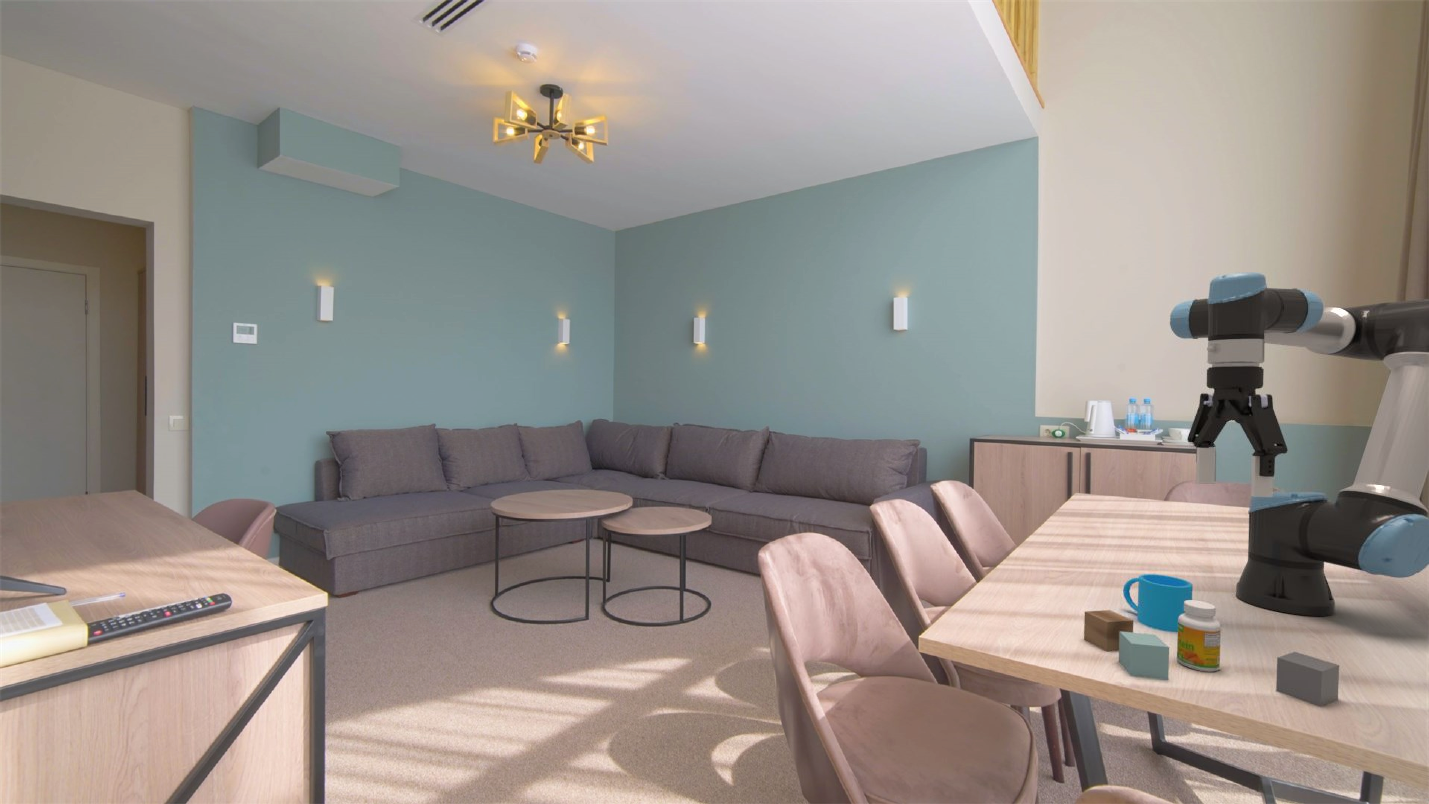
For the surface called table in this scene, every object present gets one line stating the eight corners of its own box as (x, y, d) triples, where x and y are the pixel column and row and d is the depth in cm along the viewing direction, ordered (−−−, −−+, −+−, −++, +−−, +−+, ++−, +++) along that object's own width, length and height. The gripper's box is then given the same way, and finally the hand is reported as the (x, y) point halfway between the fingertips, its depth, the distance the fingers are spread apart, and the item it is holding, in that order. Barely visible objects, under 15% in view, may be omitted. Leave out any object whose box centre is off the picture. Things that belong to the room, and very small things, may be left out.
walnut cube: (1108, 638, 112) (1109, 610, 111) (1132, 649, 107) (1133, 620, 107) (1083, 640, 111) (1084, 611, 111) (1106, 651, 106) (1107, 621, 106)
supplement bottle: (1168, 658, 103) (1170, 598, 103) (1199, 657, 104) (1201, 598, 104) (1196, 672, 98) (1198, 610, 98) (1228, 672, 98) (1230, 609, 98)
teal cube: (1154, 666, 100) (1155, 634, 100) (1168, 680, 96) (1169, 647, 96) (1118, 662, 102) (1119, 631, 102) (1130, 676, 97) (1131, 643, 97)
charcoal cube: (1293, 685, 95) (1294, 651, 94) (1337, 700, 90) (1339, 665, 90) (1276, 691, 92) (1277, 657, 92) (1320, 707, 88) (1321, 671, 88)
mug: (1201, 629, 116) (1203, 584, 116) (1171, 634, 113) (1172, 589, 113) (1137, 607, 128) (1139, 567, 127) (1108, 612, 125) (1109, 570, 124)
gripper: (1167, 367, 122) (1164, 478, 122) (1266, 363, 97) (1263, 502, 97) (1209, 367, 121) (1206, 479, 121) (1320, 363, 96) (1316, 503, 97)
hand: (1231, 489), depth 109 cm, fingers open, 13 cm apart
